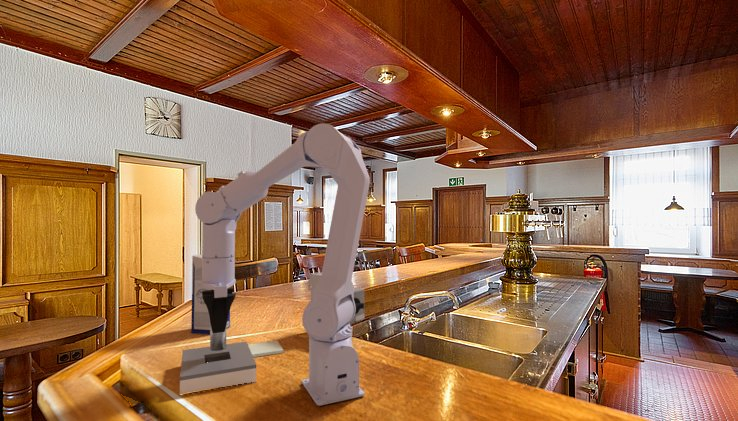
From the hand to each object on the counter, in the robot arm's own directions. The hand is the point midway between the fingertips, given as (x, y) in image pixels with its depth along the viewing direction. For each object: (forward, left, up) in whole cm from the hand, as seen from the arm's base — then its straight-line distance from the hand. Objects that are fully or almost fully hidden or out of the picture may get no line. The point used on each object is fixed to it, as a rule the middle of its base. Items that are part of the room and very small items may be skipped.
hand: (218, 329), depth 68 cm
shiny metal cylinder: (0, 0, -3) cm, 3 cm away
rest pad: (+9, -10, -8) cm, 16 cm away
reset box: (0, 0, -8) cm, 8 cm away
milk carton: (+31, 0, -8) cm, 32 cm away
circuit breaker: (+13, -29, -8) cm, 33 cm away
